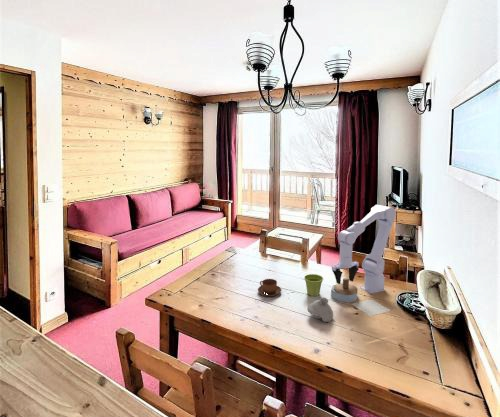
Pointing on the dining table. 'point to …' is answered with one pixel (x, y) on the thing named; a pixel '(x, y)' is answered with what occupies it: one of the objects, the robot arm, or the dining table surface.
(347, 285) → the lid
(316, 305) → the grey clay mound
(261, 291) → the cup and saucer
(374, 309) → the mat
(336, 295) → the bowl
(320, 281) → the plant pot
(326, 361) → the dining table surface
